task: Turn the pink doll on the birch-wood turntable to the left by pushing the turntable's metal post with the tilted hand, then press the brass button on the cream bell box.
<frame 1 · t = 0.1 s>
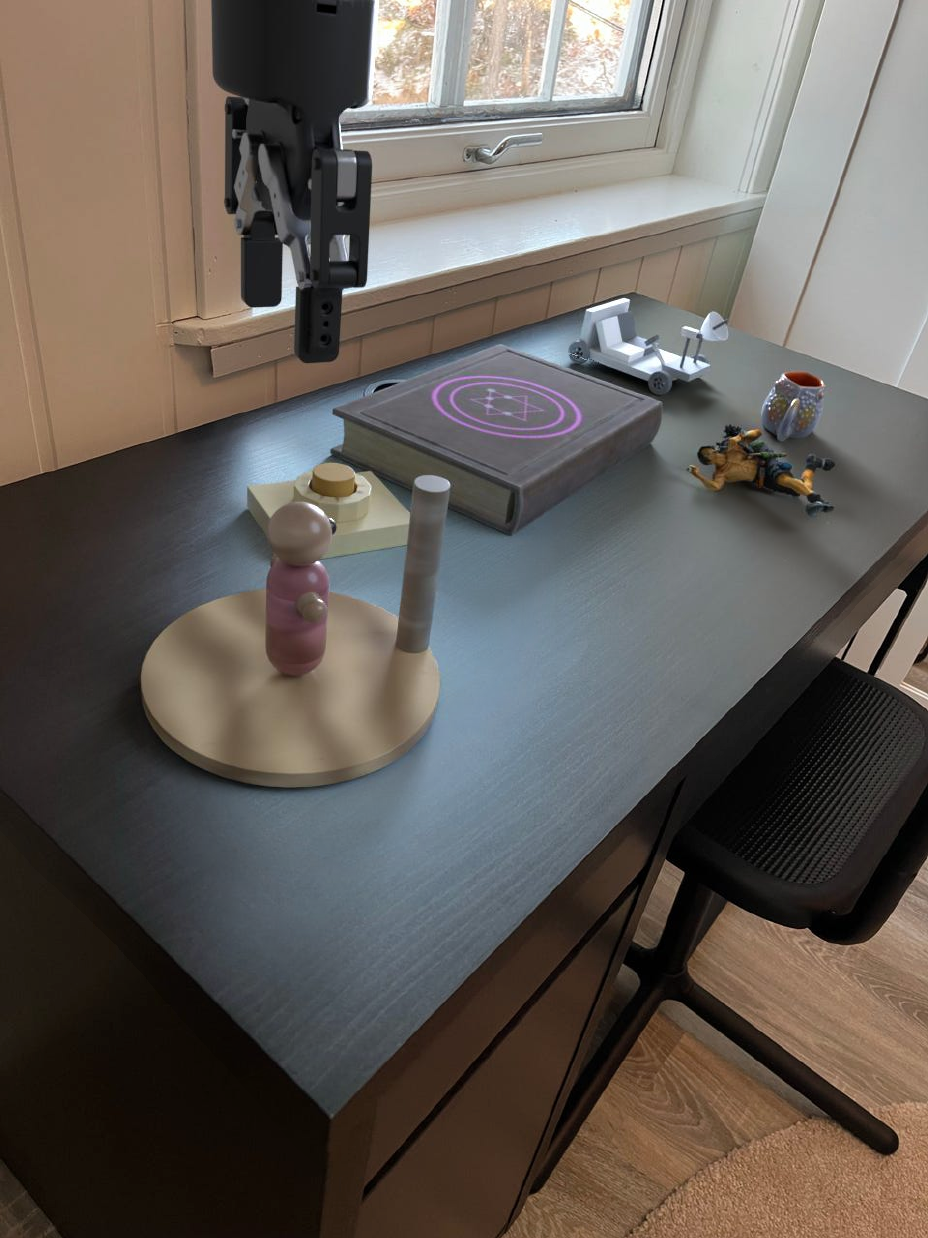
hand: (287, 331, 52), 25 cm above the table, tool pointing down, fingers open, 8 cm apart
toy car: (644, 374, 129), on the table
turntable: (298, 597, 62), point 8 cm above the table, hinge at 0.0°
action figure: (753, 494, 102), on the table
bell button: (333, 480, 82), point 4 cm above the table, slide at 0.1 cm
mug: (781, 436, 117), on the table
bell box: (330, 525, 85), on the table
book: (502, 450, 103), on the table
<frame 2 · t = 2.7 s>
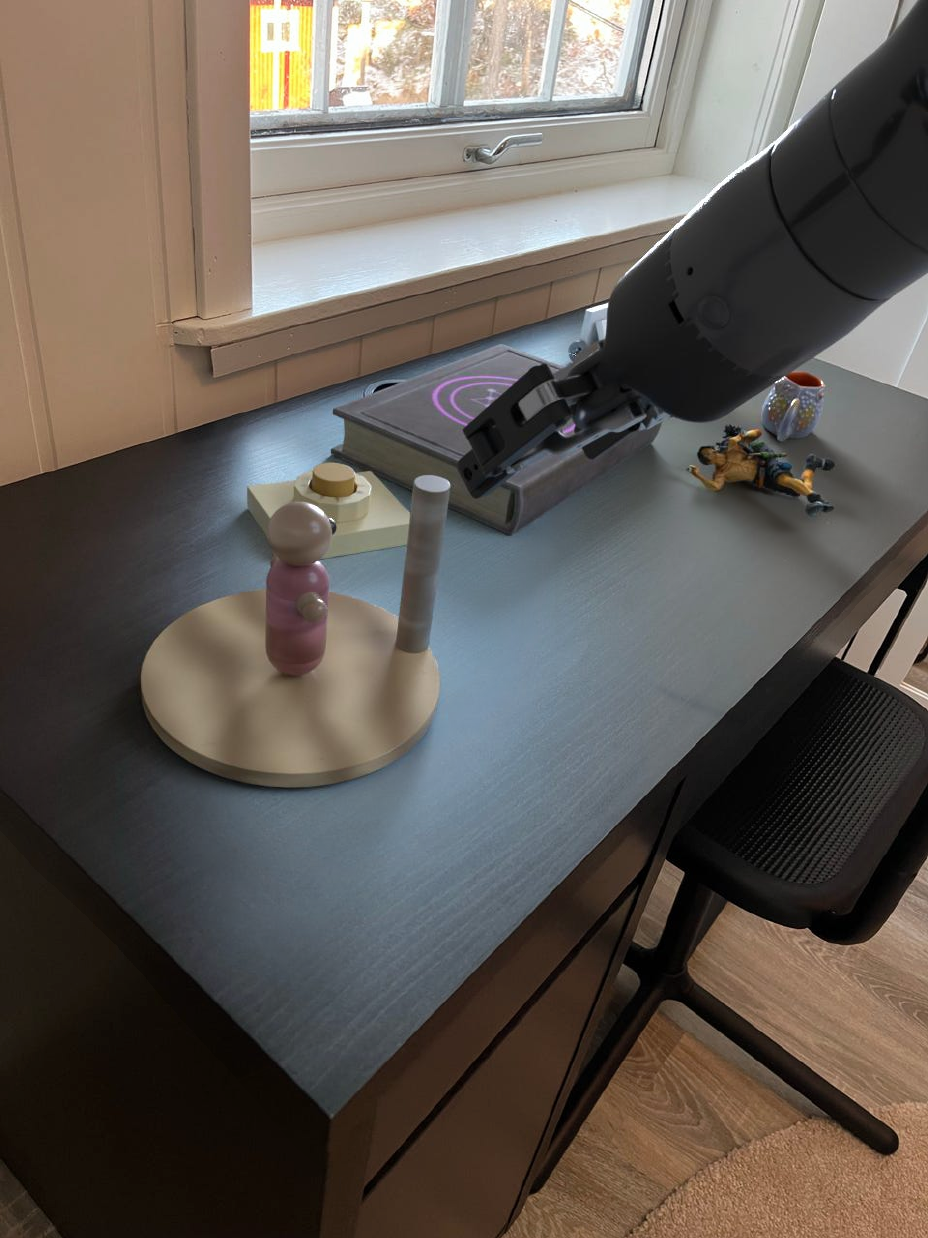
hand: (529, 461, 52), 21 cm above the table, tool tilted 40°, fingers open, 8 cm apart
nothing on the table moved.
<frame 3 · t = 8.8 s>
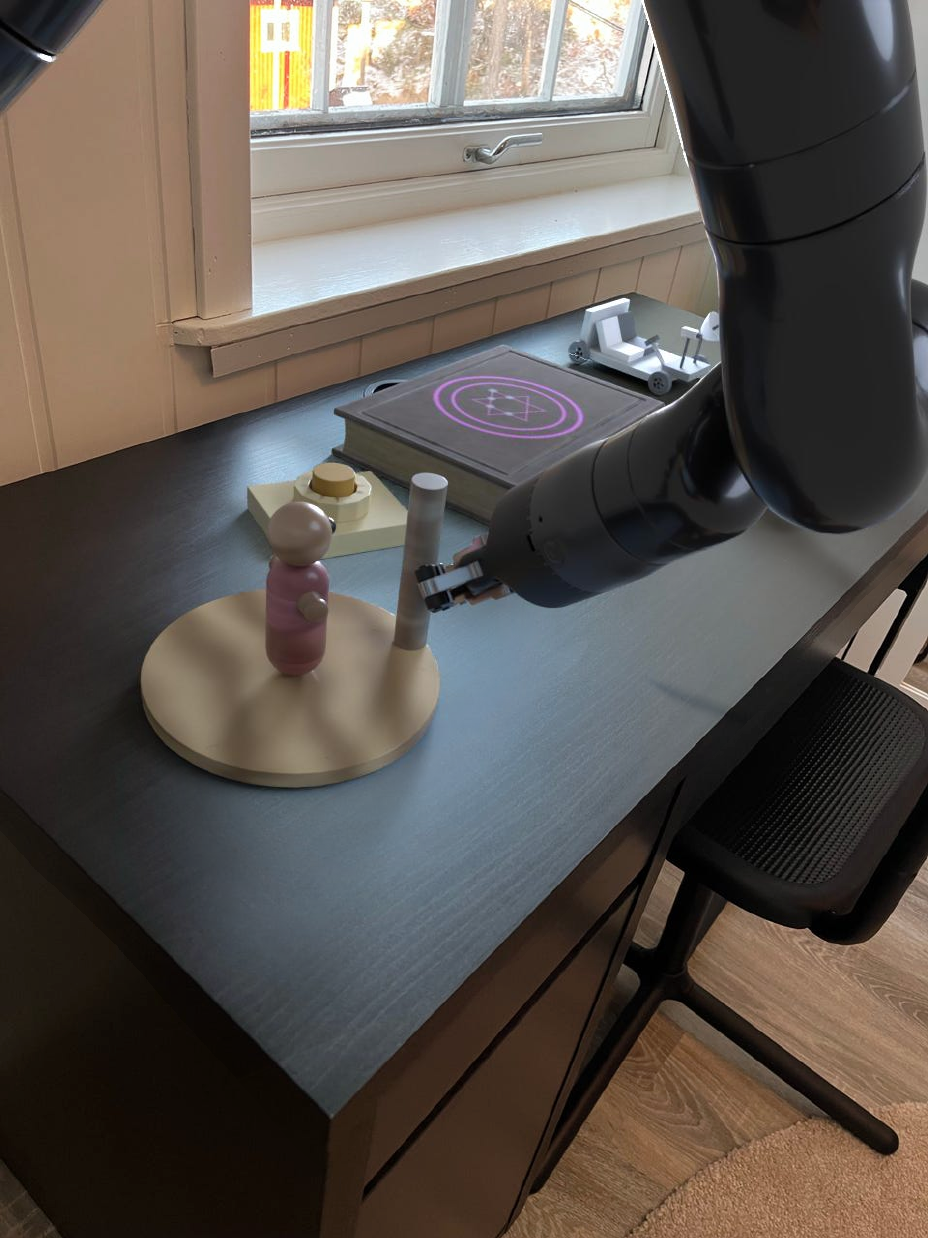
hand: (433, 596, 66), 7 cm above the table, tool tilted 45°, fingers closed
turntable: (298, 597, 62), point 8 cm above the table, hinge at 2.3°, touching gripper
everything else where it was.
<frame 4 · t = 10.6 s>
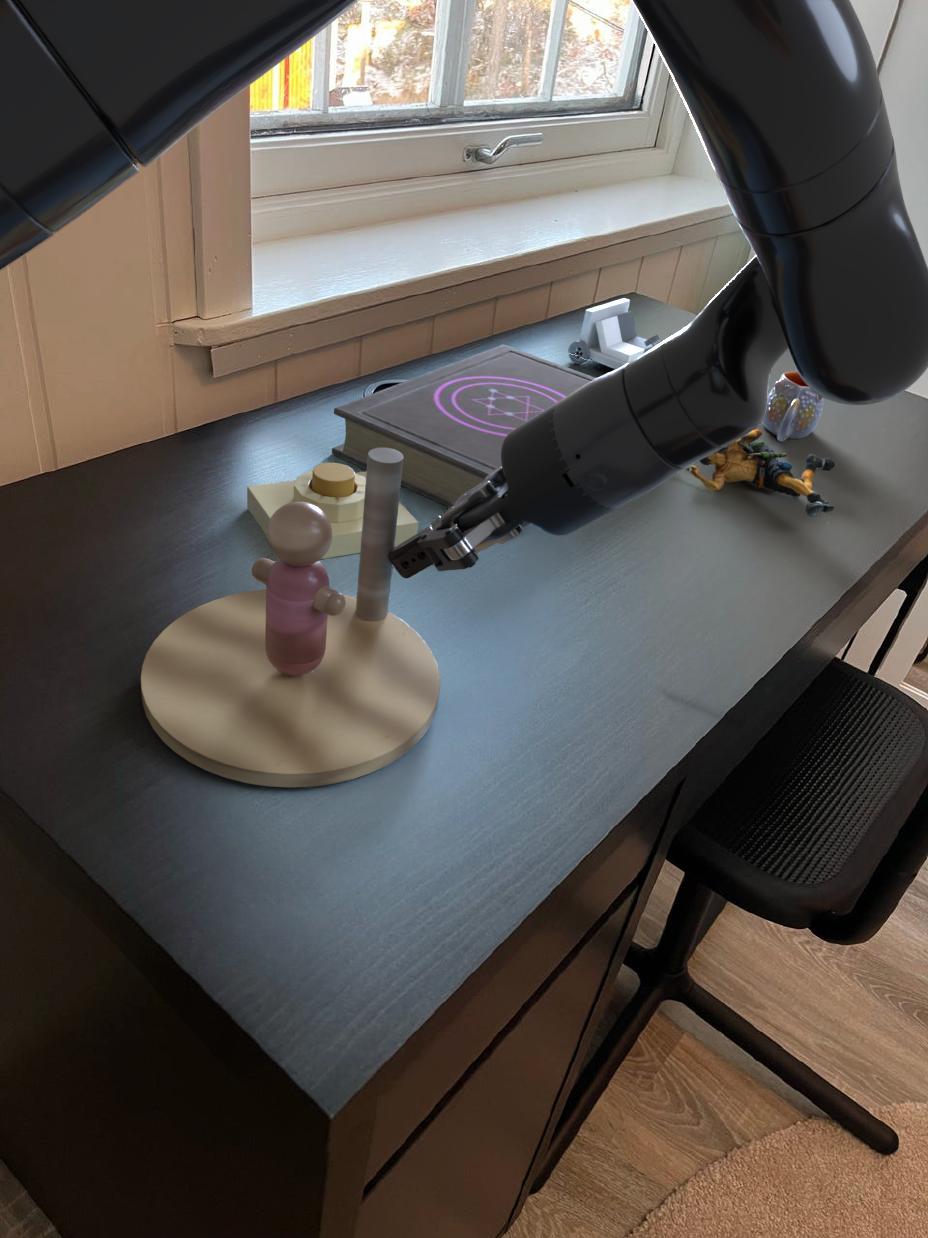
hand: (399, 563, 69), 7 cm above the table, tool tilted 45°, fingers closed
turntable: (298, 597, 62), point 8 cm above the table, hinge at 30.1°, touching gripper
everything else where it was.
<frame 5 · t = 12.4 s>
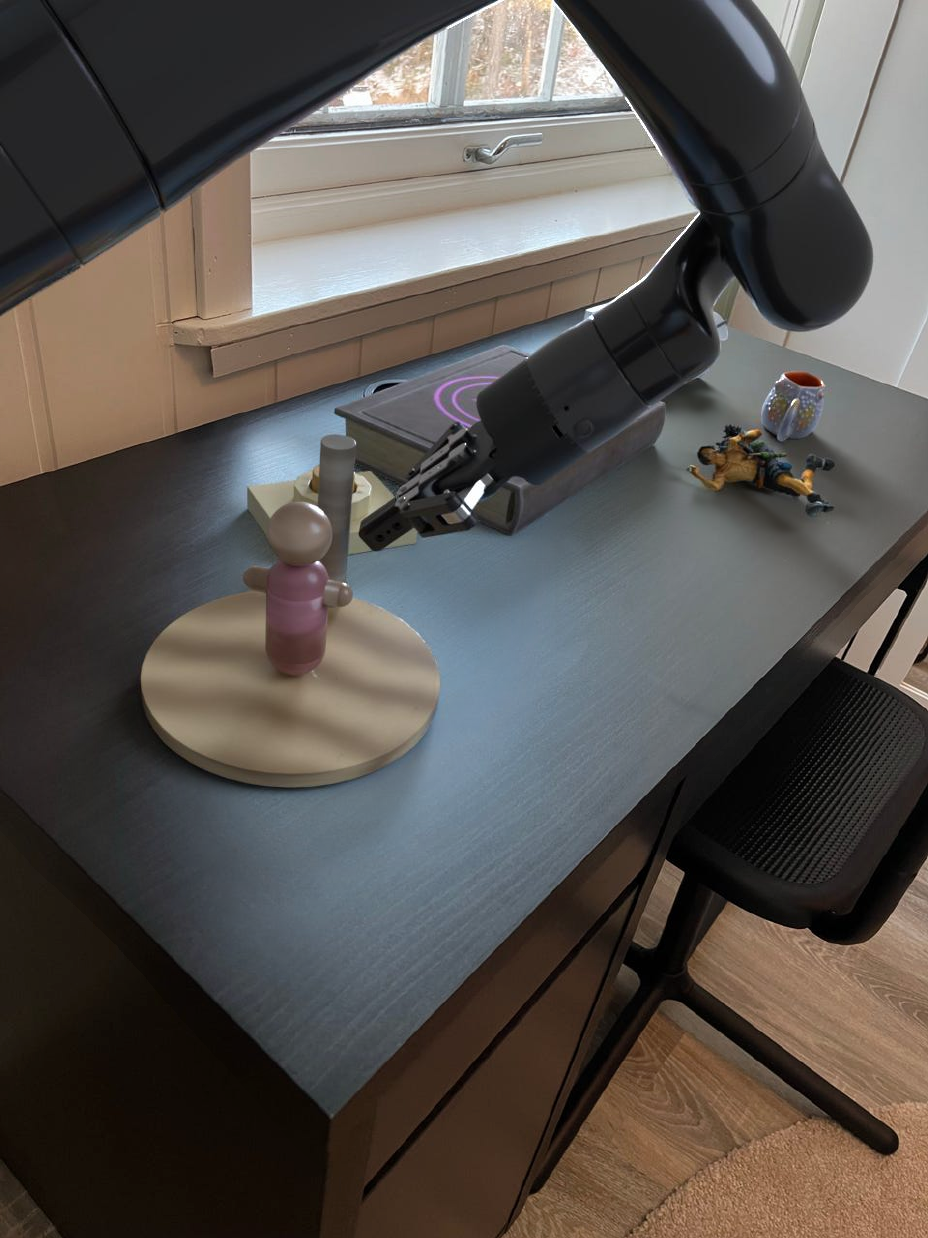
hand: (366, 538, 70), 7 cm above the table, tool tilted 45°, fingers closed
turntable: (297, 597, 62), point 8 cm above the table, hinge at 52.7°
everything else where it was.
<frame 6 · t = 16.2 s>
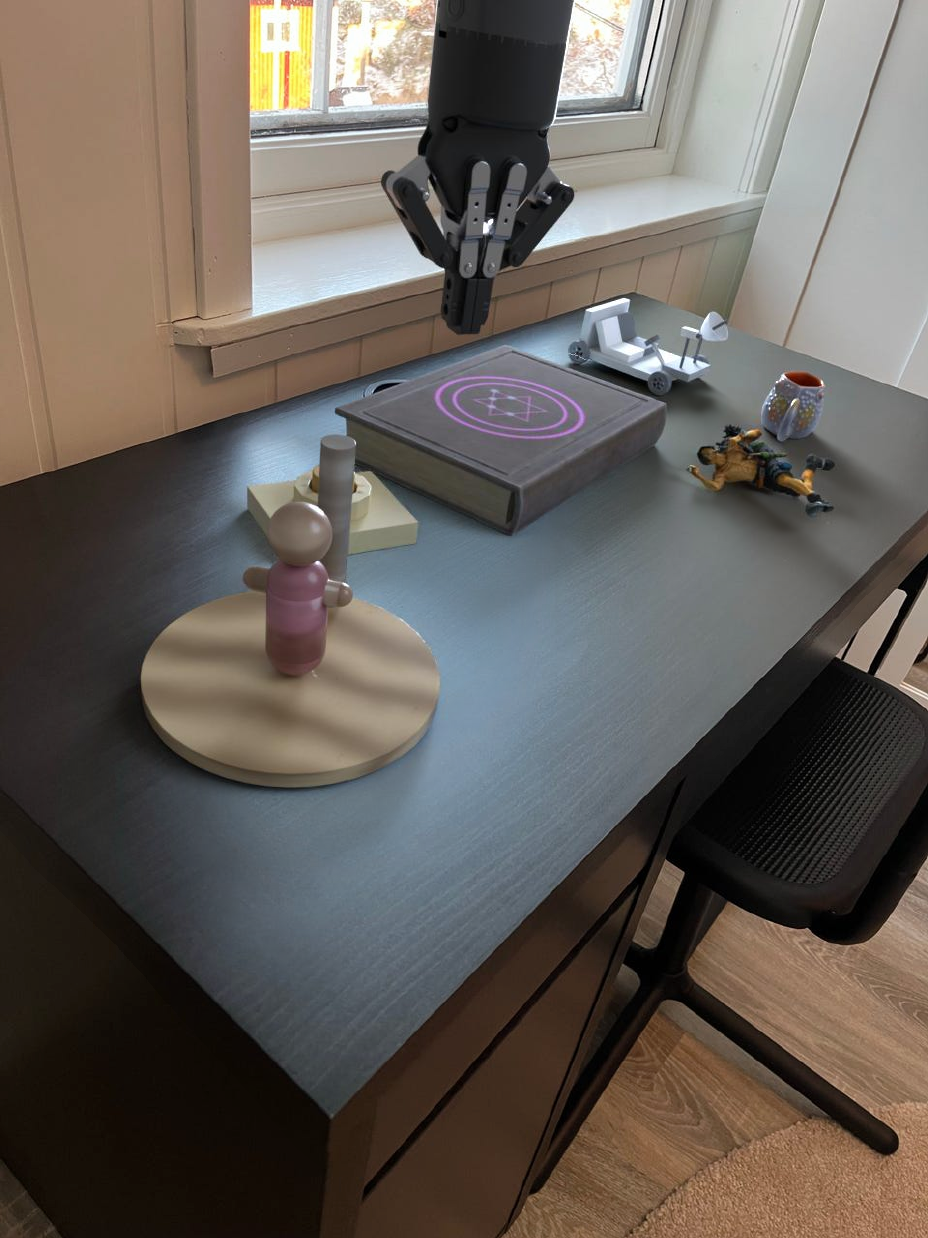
hand: (461, 330, 63), 23 cm above the table, tool pointing down, fingers closed
nothing on the table moved.
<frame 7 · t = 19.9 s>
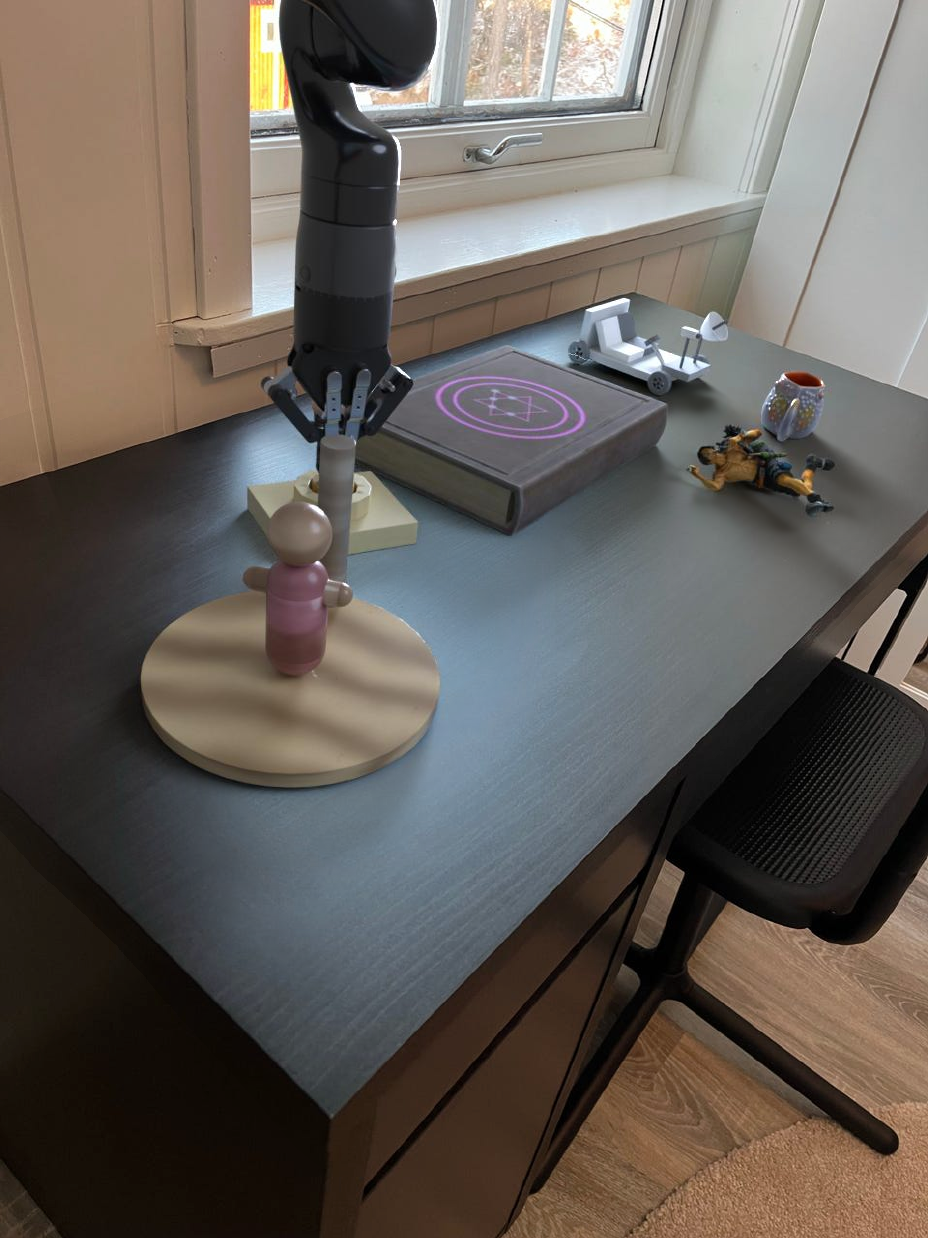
hand: (333, 480, 82), 4 cm above the table, tool pointing down, fingers closed
bell button: (332, 490, 83), point 4 cm above the table, slide at -0.8 cm, touching gripper
everything else where it was.
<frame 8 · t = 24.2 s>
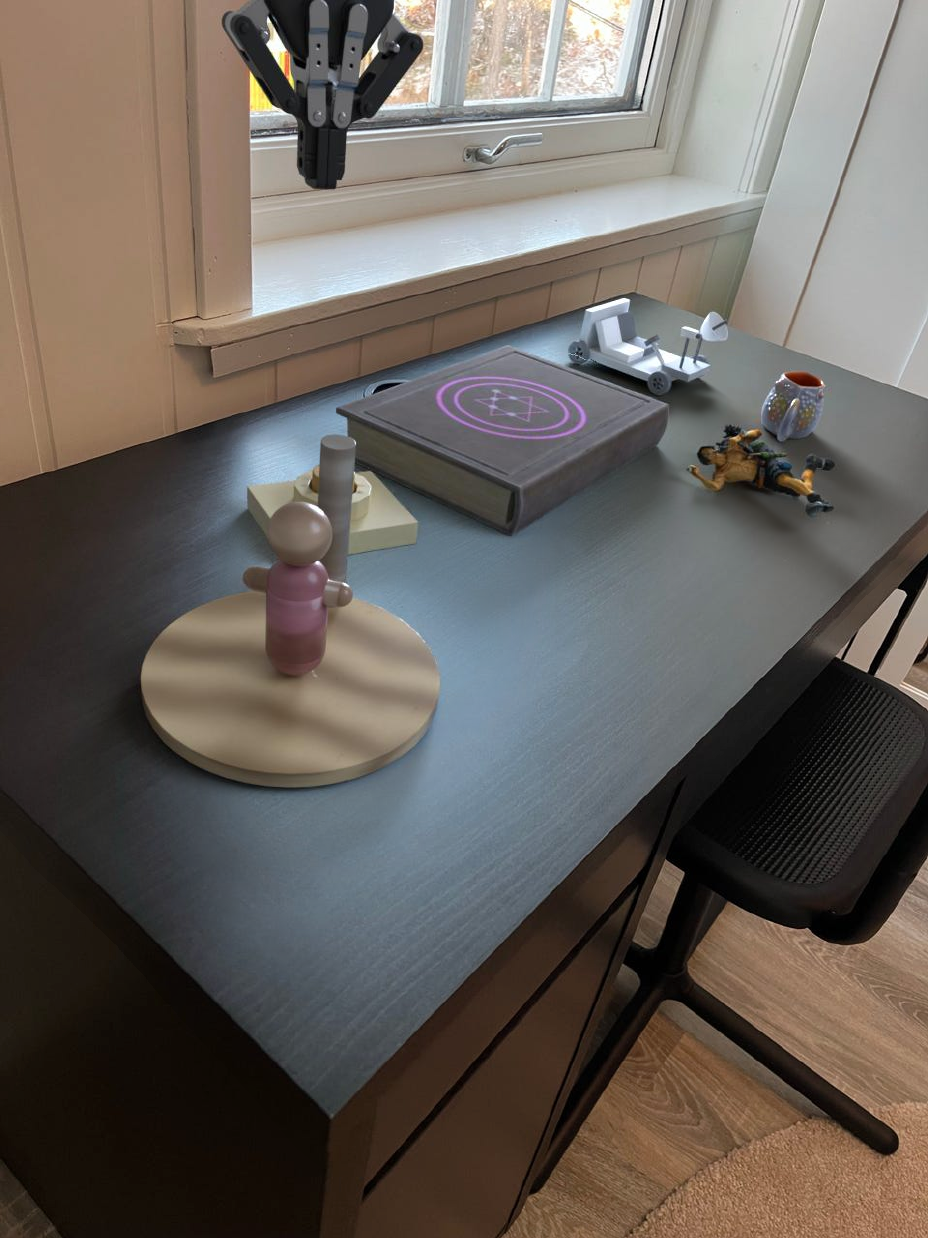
hand: (319, 186, 64), 29 cm above the table, tool pointing down, fingers closed
bell button: (333, 480, 82), point 4 cm above the table, slide at 0.1 cm
everything else where it was.
at the end: turntable at +53° (first picture: +0°); bell button pushed in 1.1 cm at the most during the clip, back to where it started at the end; bell button slide at 0.1 cm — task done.
